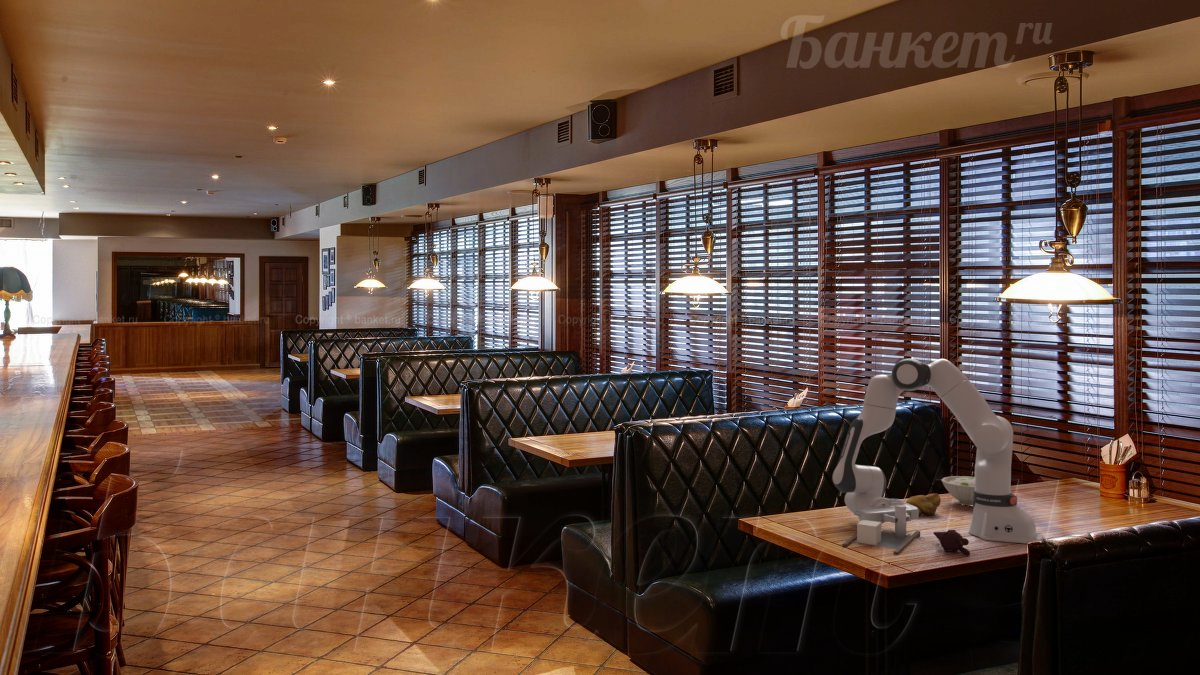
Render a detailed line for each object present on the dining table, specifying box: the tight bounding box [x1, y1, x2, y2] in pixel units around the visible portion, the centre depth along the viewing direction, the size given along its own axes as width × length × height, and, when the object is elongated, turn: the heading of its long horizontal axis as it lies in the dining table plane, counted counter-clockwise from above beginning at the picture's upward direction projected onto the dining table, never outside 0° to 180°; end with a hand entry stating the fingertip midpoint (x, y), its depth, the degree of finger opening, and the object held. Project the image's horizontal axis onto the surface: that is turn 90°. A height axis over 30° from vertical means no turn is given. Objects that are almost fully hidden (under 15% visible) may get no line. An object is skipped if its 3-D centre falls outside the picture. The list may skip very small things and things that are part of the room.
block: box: [856, 520, 882, 546], centre depth 290 cm, size 6×6×6 cm
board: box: [852, 505, 911, 550], centre depth 292 cm, size 14×18×11 cm
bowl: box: [941, 475, 975, 505], centre depth 343 cm, size 19×19×10 cm
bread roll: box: [905, 493, 941, 517], centre depth 329 cm, size 13×10×8 cm
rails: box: [841, 530, 921, 556], centre depth 292 cm, size 17×28×2 cm, turn 147°
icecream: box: [932, 529, 971, 557], centre depth 283 cm, size 7×7×15 cm
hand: (902, 519), depth 294 cm, fingers closed on board, 3 cm apart
